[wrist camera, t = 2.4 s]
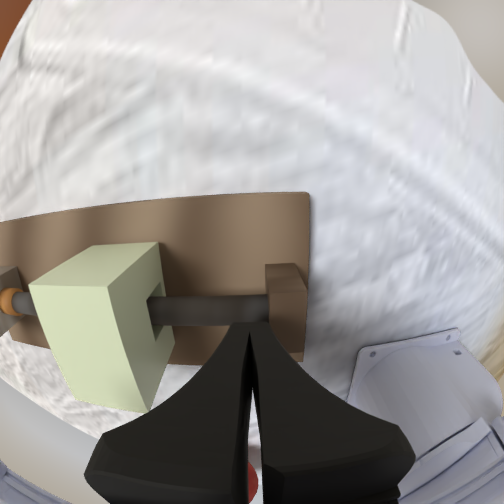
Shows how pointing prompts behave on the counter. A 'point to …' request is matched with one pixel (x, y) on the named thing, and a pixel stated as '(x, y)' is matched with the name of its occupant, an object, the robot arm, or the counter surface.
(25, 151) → the counter surface
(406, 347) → the robot arm
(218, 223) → the cord board
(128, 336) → the sleeve
